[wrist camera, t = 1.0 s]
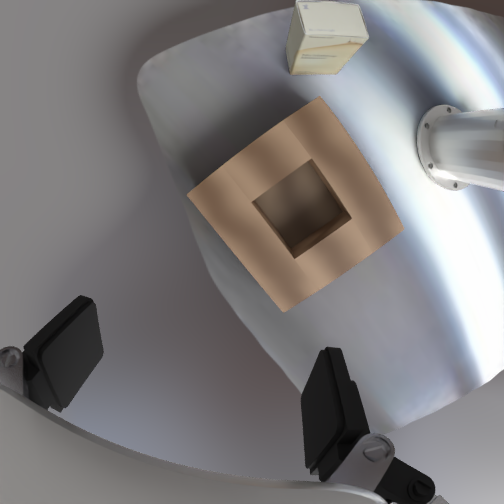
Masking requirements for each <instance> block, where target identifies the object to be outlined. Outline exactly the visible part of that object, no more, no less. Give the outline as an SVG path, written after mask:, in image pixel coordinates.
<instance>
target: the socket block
mask: <svg viewBox="0 0 504 504" xmlns="http://www.w3.org/2000/svg"><path fill="white" fill-rule="evenodd" d="M187 196H188V197H189V198H190V200H191V201H192V202H193V203H194V205H195V206H196V207H197V208H198V210H199V211H200V212H201V213H202V214H203V216H204V217H205V218H206V219H207V221H208V222H209V223H210V224H211V226H212V227H213V228H214V229H215V231H216V232H217V233H218V234H219V235H220V237H221V238H222V239H223V240H224V242H225V243H226V244H227V245H228V246H229V248H230V249H231V250H232V251H233V253H234V254H235V255H236V256H237V257H238V259H239V260H240V261H241V262H242V264H243V265H244V266H245V267H246V268H247V270H248V271H249V272H250V273H251V274H252V276H253V277H254V278H255V279H256V280H257V282H258V283H259V284H260V285H261V287H262V288H263V289H264V290H265V291H266V293H267V294H268V295H269V296H270V297H271V299H272V300H273V301H274V302H275V303H276V304H277V306H278V307H279V308H280V309H281V310H282V312H283V313H284V312H286V311H287V310H289V309H290V308H292V307H294V306H295V305H297V304H298V303H300V302H301V301H303V300H305V299H306V298H308V297H309V296H311V295H312V294H314V293H315V292H317V291H318V290H320V289H321V288H323V287H324V286H326V285H327V284H329V283H330V282H332V281H333V280H335V279H336V278H338V277H339V276H341V275H342V274H344V273H345V272H346V271H348V270H349V269H351V268H352V267H354V266H355V265H357V264H358V263H359V262H361V261H362V260H364V259H365V258H366V257H368V256H369V255H371V254H372V253H373V252H375V251H376V250H377V249H379V248H380V247H381V246H383V245H384V244H386V243H387V242H388V241H390V240H391V239H392V238H394V237H395V236H396V235H398V234H399V233H400V232H401V231H403V230H404V227H403V225H402V223H401V221H400V219H399V217H398V215H397V213H396V211H395V209H394V208H393V206H392V204H391V202H390V200H389V198H388V197H387V195H386V193H385V191H384V189H383V188H382V186H381V184H380V183H379V181H378V179H377V177H376V176H375V174H374V172H373V171H372V169H371V168H370V166H369V164H368V163H367V161H366V160H365V158H364V156H363V155H362V153H361V152H360V150H359V149H358V147H357V146H356V144H355V143H354V141H353V140H352V138H351V137H350V135H349V134H348V133H347V131H346V130H345V128H344V127H343V126H342V124H341V123H340V121H339V120H338V119H337V117H336V116H335V115H334V113H333V112H332V111H331V109H330V108H329V107H328V105H327V104H326V103H325V102H324V100H323V99H322V98H321V96H319V97H317V98H316V99H314V100H313V101H311V102H310V103H308V104H307V105H305V106H304V107H302V108H301V109H299V110H298V111H296V112H295V113H293V114H292V115H290V116H289V117H287V118H286V119H284V120H283V121H281V122H280V123H278V124H277V125H276V126H274V127H273V128H271V129H270V130H269V131H267V132H266V133H264V134H263V135H262V136H260V137H259V138H257V139H256V140H255V141H253V142H252V143H251V144H249V145H248V146H247V147H245V148H244V149H243V150H241V151H240V152H239V153H237V154H236V155H235V156H234V157H232V158H231V159H230V160H228V161H227V162H226V163H225V164H223V165H222V166H221V167H220V168H218V169H217V170H216V171H215V172H213V173H212V174H211V175H210V176H208V177H207V178H206V179H205V180H203V181H202V182H201V183H200V184H199V185H197V186H196V187H195V188H194V189H193V190H192V191H190V192H189V193H188V194H187Z"/></svg>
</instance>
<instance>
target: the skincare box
mask: <svg viewBox="0 0 504 504" xmlns="http://www.w3.org/2000/svg"><path fill="white" fill-rule="evenodd" d="M368 39H369V35H368V31H367V27H366V24H365V20H364V17H363V14H362V11H361V8H360V6H359V5H358V4H352V3H344V2H334V1H311V0H310V1H309V0H296V2H295V6H294V11H293V16H292V20H291V25H290V30H289V34H288V39H287V43H286V55H287V61H288V66H289V71H290V74H291V75H312V74H337V73H338V72H339V71H340V70H341V68H342V67H343V66H344V65H345V64H346V63H347V62H348V61H349V59H350V58H351V57H352V56H353V55H354V54H355V53H356V52H357V51H358V49H359V48H360V47H361V46H362V45H363V44H364V43H365V42H366V41H367V40H368Z"/></svg>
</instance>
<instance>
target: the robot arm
mask: <svg viewBox="0 0 504 504" xmlns="http://www.w3.org/2000/svg"><path fill="white" fill-rule="evenodd" d="M417 147H418V154H419V157H420V160H421V163H422V165H423V167H424V170H425V171H426V173H427V174H428V176H429V177H430V178H431V179H432V180H433V182H435V183H436V184H437V185H439V186H440V187H442V188H444V189H448V190H454V191H457V190H461V189H464V188H465V187H467V186H468V185H469V184H474V185H479V186H483V187H487V188H491V189H495V190H499V191H503V192H504V108H501V109H490V110H480V111H472V112H464V113H462V112H461V111H460V110H458V109H457V108H455V107H453V106H450V105H438V106H435V107H432V108H431V109H429V110H428V111H427V112H426V113H425V114H424V115H423V117H422V119H421V121H420V123H419V127H418V132H417ZM103 352H104V351H103V345H102V340H101V334H100V329H99V323H98V316H97V309H96V304H95V303H94V302H93V300H92V299H91V298H88V297H85V296H82V295H80V296H78V297H77V298H76V299H75V300H73V301H72V302H71V303H70V304H69V305H68V306H67V307H65V308H64V309H63V310H62V311H61V312H60V313H59V314H57V315H56V316H55V317H54V318H53V319H52V320H51V321H50V322H49V323H47V324H46V325H45V326H44V327H43V328H42V329H41V330H40V331H39V332H38V333H37V334H36V335H35V336H34V337H33V338H32V339H30V340H29V341H28V342H27V343H26V344H25V345H24V351H23V352H21V350H20V349H19V348H17V347H14V346H8V347H4V348H2V349H1V350H0V504H449V503H448V502H447V501H446V500H445V499H444V498H443V497H442V496H441V495H439V496H436V495H435V485H434V482H433V481H432V479H431V478H430V477H428V476H427V475H425V474H423V473H421V472H420V471H418V470H416V469H414V468H413V467H411V466H409V465H407V464H406V463H404V462H402V461H401V460H399V459H397V458H396V457H394V454H395V448H394V445H393V443H392V442H391V441H390V439H389V438H387V437H386V436H384V435H381V434H378V433H371V434H370V430H369V426H368V423H367V419H366V416H365V412H364V408H363V405H362V402H361V398H360V395H359V391H358V388H357V385H356V383H355V382H354V381H351V380H350V376H349V373H348V370H347V366H346V363H345V360H344V357H343V353H342V350H341V349H340V348H333V347H326V348H325V350H321V351H320V352H319V355H318V357H317V360H316V362H315V365H314V367H313V369H312V372H311V374H310V377H309V379H308V381H307V384H306V386H305V388H304V390H303V393H302V396H301V409H302V422H303V435H304V450H305V466H306V468H310V475H319V480H320V481H321V482H310V481H289V480H273V479H262V478H253V477H244V476H236V475H229V474H223V473H217V472H212V471H207V470H202V469H197V468H193V467H188V466H184V465H180V464H176V463H172V462H169V461H165V460H161V459H158V458H155V457H151V456H149V455H146V454H142V453H140V452H137V451H133V450H131V449H128V448H125V447H123V446H120V445H118V444H115V443H113V442H110V441H108V440H105V439H103V438H101V437H98V436H96V435H94V434H92V433H90V432H87V431H85V430H83V429H81V428H79V427H77V426H75V425H73V424H71V423H69V422H67V421H65V420H64V419H62V418H60V417H58V416H56V415H55V414H53V413H51V412H49V411H48V408H49V406H51V408H53V409H55V410H57V411H58V412H61V411H62V410H63V408H66V407H68V405H69V404H70V402H71V401H72V399H73V398H74V396H75V395H76V393H77V392H78V391H79V389H80V388H81V386H82V385H83V383H84V382H85V380H86V379H87V378H88V376H89V375H90V374H91V372H92V371H93V369H94V368H95V367H96V365H97V364H98V362H99V361H100V360H101V358H102V356H103Z"/></svg>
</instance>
